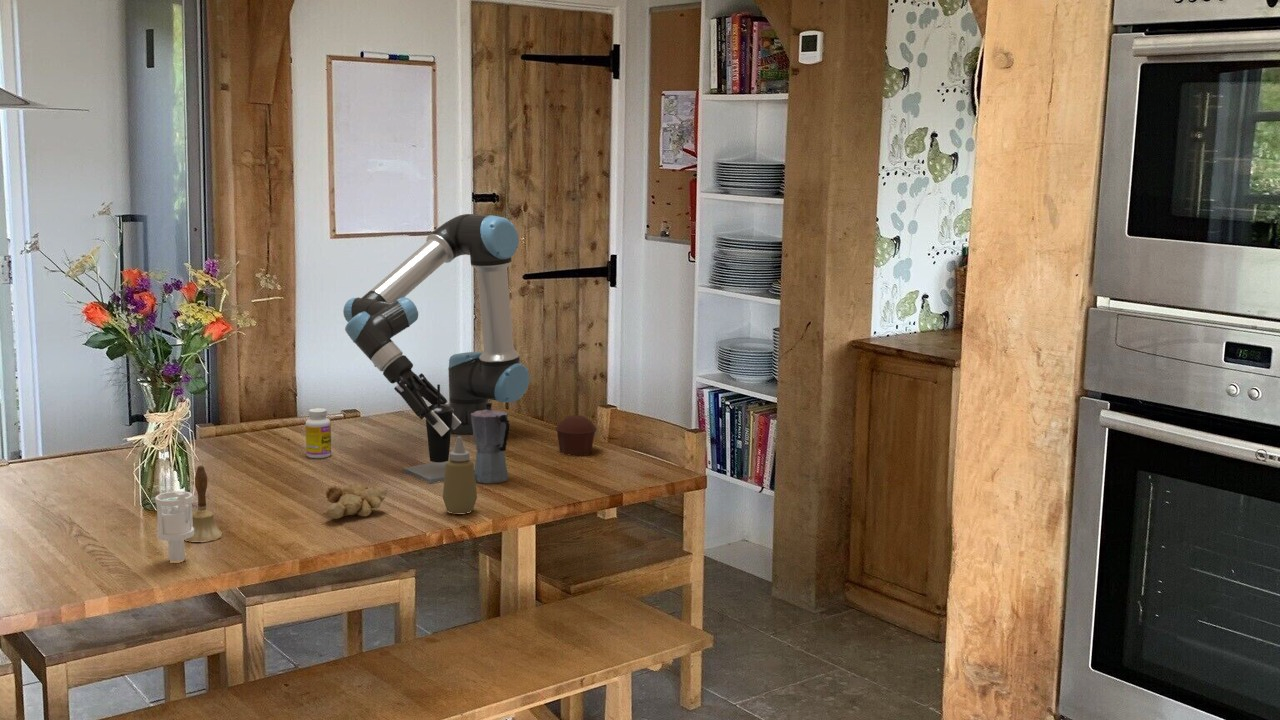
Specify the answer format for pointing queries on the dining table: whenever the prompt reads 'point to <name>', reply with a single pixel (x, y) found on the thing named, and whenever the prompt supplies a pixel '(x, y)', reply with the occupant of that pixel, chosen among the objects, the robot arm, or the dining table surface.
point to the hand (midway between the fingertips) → (451, 429)
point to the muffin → (575, 435)
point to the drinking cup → (435, 441)
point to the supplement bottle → (318, 434)
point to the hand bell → (203, 512)
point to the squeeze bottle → (459, 481)
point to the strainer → (175, 521)
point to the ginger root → (353, 500)
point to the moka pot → (490, 444)
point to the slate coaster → (428, 471)
